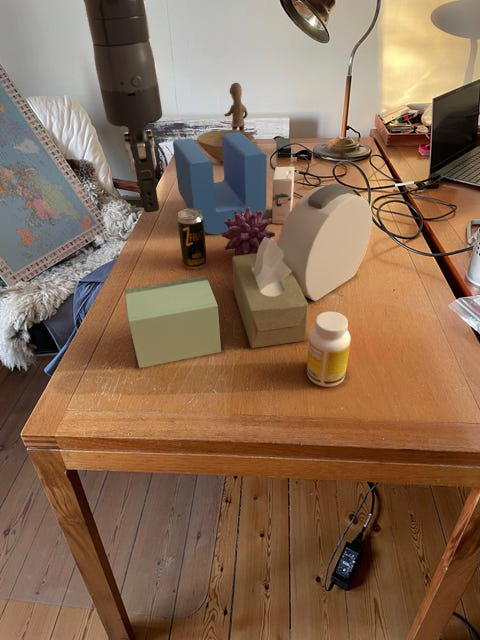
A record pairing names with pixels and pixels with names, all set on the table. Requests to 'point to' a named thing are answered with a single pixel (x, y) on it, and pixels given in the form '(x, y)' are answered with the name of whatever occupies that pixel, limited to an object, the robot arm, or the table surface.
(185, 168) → the block
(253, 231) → the flower
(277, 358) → the table surface
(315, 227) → the alarm clock
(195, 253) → the beer can
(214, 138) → the bowl
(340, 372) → the pill bottle
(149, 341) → the pale green open box
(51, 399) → the table surface
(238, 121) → the figurine
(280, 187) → the ink box
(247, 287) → the tissue box
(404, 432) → the table surface
